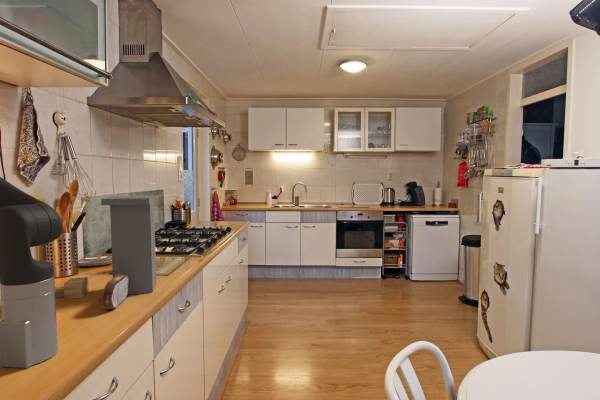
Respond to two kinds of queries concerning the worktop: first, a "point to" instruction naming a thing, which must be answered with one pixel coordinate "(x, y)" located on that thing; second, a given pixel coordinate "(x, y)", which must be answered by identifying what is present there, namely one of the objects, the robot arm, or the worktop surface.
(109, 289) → the tin
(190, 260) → the worktop surface
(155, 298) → the worktop surface
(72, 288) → the brown wooden block
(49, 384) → the worktop surface
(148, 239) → the stand
